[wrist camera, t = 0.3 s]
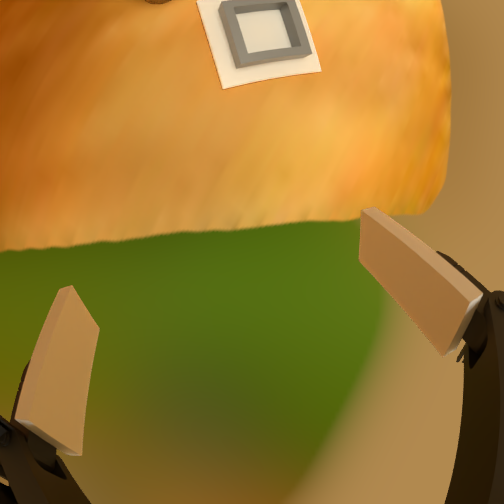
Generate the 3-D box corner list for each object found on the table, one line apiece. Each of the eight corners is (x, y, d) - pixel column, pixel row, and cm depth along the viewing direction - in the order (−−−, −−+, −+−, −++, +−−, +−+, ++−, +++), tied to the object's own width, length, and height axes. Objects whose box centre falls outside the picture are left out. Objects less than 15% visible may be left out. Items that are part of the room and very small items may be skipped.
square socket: (196, 3, 24) (198, -9, 21) (293, -8, 26) (303, -18, 22) (222, 89, 31) (226, 85, 28) (319, 72, 32) (332, 68, 29)
